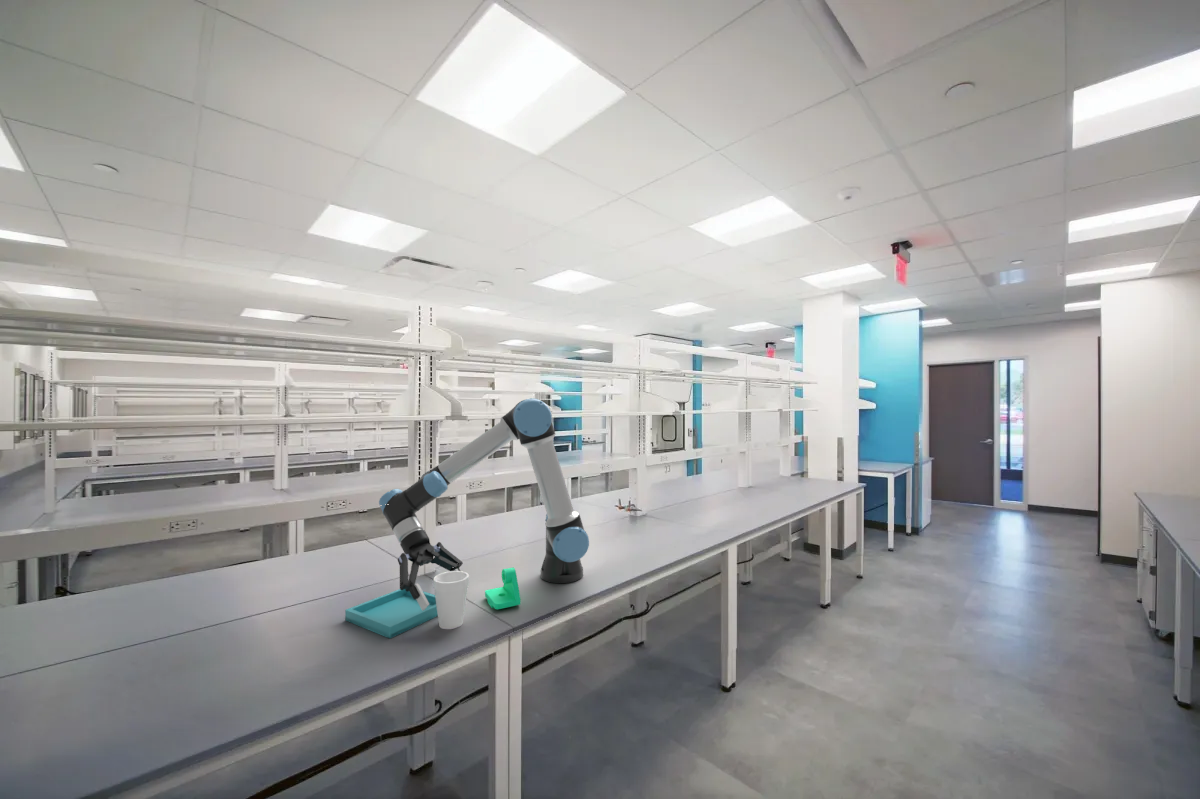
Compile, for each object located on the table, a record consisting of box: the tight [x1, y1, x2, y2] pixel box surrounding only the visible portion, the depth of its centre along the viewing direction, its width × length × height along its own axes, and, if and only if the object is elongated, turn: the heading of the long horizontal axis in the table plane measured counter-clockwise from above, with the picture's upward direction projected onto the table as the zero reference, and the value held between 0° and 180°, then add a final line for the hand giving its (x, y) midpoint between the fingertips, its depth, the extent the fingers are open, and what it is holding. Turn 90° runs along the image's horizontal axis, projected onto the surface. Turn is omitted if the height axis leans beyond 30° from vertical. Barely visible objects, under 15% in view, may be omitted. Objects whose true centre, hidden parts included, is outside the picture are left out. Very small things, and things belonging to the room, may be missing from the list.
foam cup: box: [432, 570, 470, 630], centre depth 130 cm, size 10×9×13 cm
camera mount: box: [484, 567, 522, 610], centre depth 144 cm, size 12×8×10 cm, turn 30°
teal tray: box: [344, 588, 438, 639], centre depth 135 cm, size 20×20×3 cm
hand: (446, 598), depth 130 cm, fingers open, 13 cm apart
